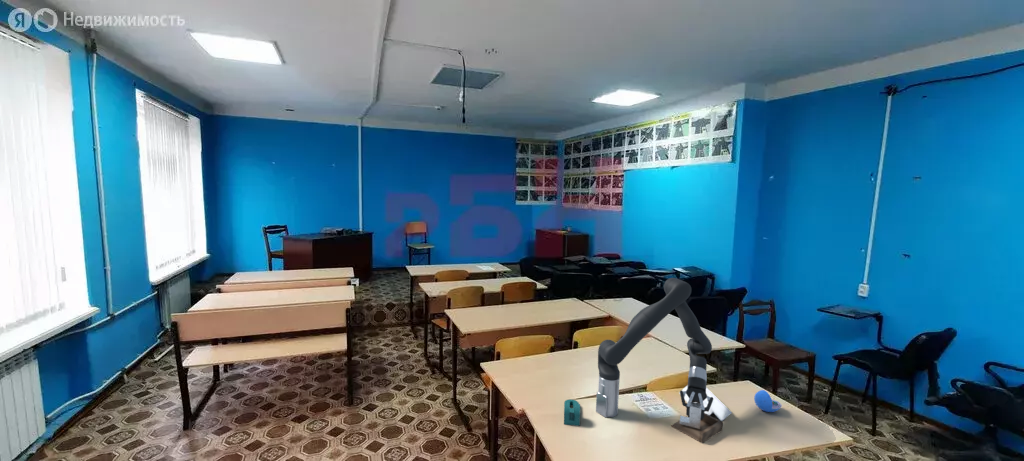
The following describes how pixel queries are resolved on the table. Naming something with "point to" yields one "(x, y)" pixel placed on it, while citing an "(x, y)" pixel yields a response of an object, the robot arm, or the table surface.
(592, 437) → the table surface
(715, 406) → the z bracket
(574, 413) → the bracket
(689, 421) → the aluminium bracket
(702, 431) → the walnut corner tray
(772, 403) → the blue rounded hollow shell
